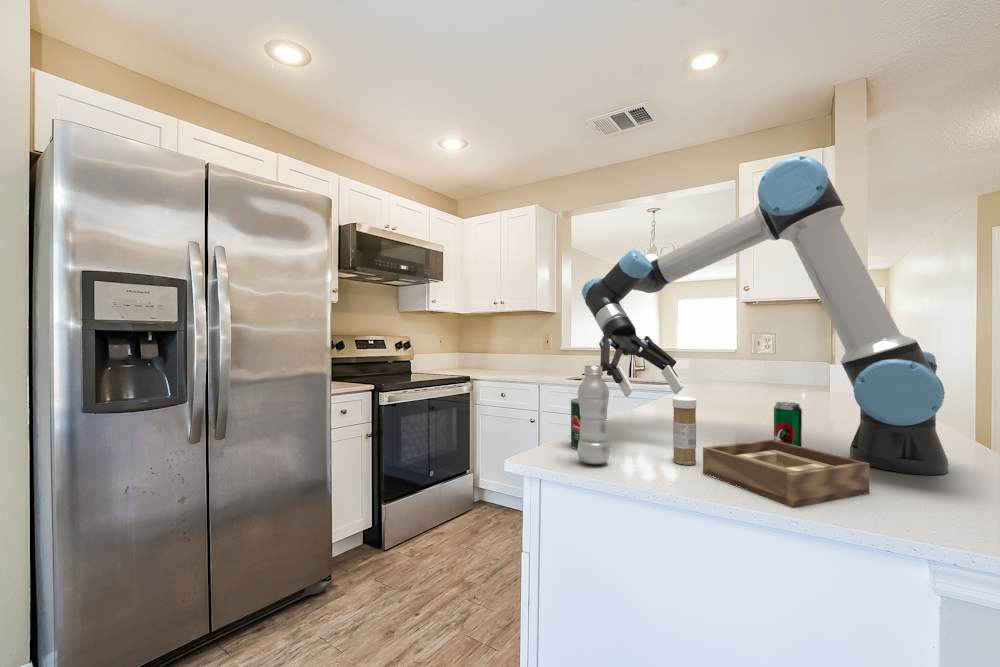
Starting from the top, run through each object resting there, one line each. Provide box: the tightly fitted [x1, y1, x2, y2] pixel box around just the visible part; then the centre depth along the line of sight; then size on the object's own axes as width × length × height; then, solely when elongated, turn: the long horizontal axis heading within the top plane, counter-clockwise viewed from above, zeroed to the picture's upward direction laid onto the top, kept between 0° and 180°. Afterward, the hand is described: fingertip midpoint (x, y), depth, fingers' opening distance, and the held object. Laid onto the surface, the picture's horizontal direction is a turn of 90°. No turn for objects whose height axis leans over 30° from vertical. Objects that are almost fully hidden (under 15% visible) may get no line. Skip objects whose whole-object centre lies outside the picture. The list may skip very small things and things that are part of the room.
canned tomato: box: [570, 397, 581, 450], centre depth 106 cm, size 8×8×11 cm
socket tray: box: [702, 439, 870, 508], centre depth 81 cm, size 18×18×5 cm
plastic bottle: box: [577, 365, 611, 465], centre depth 93 cm, size 6×7×20 cm
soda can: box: [773, 401, 803, 447], centre depth 96 cm, size 5×5×12 cm
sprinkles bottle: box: [672, 396, 697, 466], centre depth 94 cm, size 5×5×14 cm
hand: (654, 391), depth 102 cm, fingers open, 13 cm apart
